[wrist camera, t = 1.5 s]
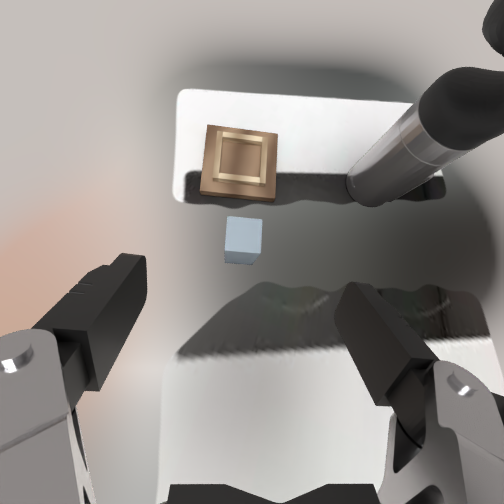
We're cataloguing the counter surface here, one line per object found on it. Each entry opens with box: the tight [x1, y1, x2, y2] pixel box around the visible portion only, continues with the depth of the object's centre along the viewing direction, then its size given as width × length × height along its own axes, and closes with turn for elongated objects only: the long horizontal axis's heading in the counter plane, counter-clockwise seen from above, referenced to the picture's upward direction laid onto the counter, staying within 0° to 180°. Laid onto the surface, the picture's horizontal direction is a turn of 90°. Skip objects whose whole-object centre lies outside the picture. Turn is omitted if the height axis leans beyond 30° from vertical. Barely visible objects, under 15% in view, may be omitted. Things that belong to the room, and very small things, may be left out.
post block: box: [225, 216, 262, 265], centre depth 35 cm, size 5×5×10 cm
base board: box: [200, 125, 278, 202], centre depth 42 cm, size 13×13×3 cm
